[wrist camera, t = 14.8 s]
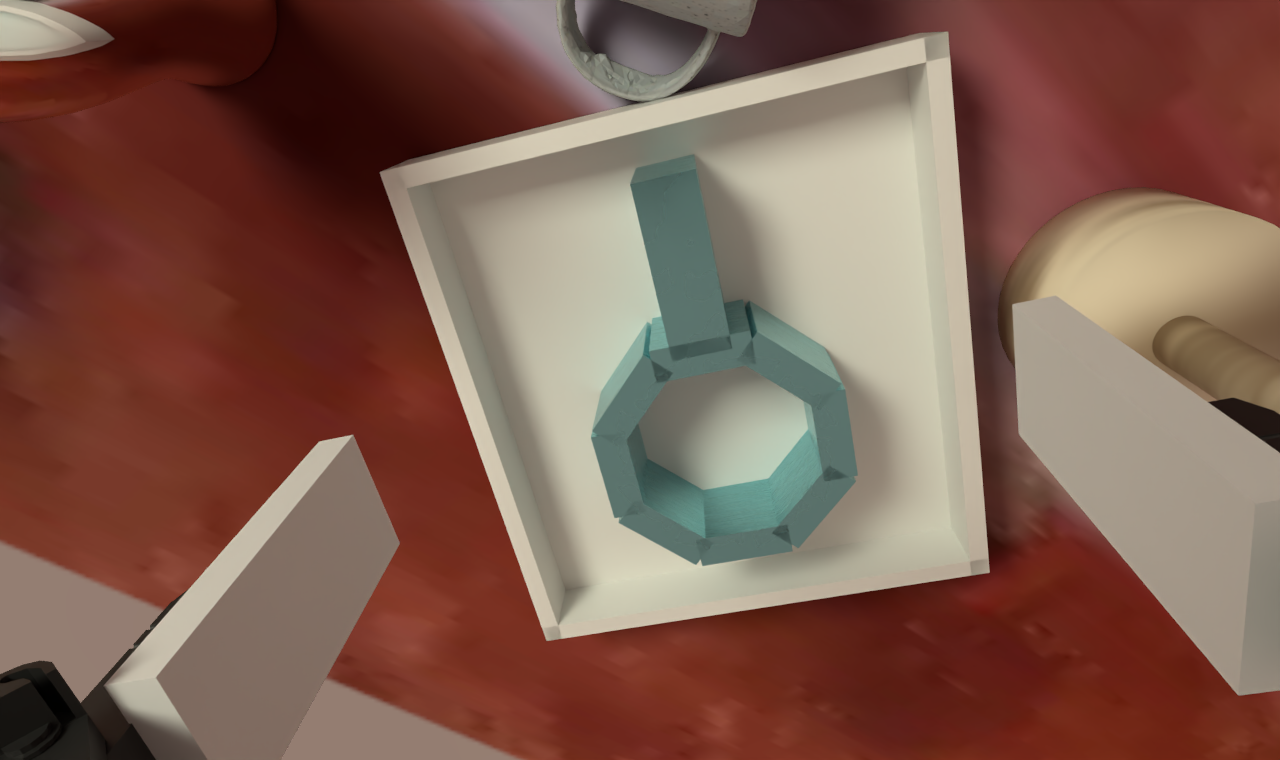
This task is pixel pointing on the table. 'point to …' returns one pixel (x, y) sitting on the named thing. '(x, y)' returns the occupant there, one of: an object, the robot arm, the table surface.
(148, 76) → the beer glass
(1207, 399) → the wooden peg stand
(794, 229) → the tray
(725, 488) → the ring
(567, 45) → the ceramic mug
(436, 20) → the table surface
